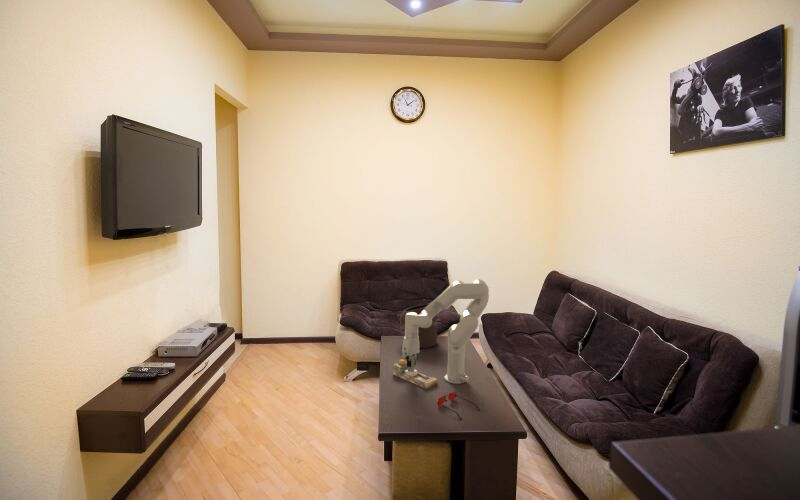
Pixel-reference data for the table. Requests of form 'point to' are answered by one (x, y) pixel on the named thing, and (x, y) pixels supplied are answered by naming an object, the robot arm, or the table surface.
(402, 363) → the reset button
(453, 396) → the glasses
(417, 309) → the vase
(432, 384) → the board
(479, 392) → the table surface
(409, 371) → the carriage
